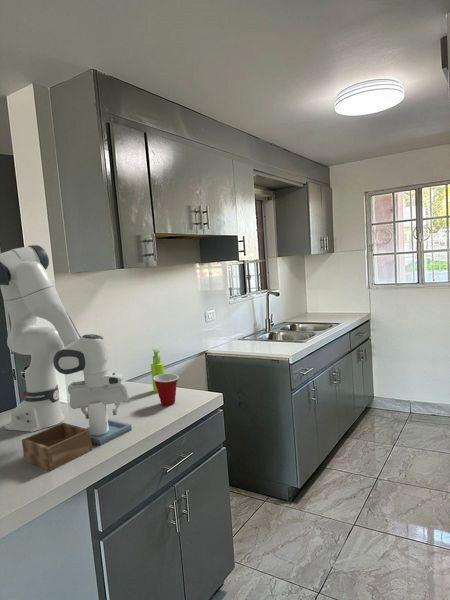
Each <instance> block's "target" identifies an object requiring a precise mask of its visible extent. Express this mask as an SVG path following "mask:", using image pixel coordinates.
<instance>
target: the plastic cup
mask: <svg viewBox="0 0 450 600" xmlns="http://www.w3.org/2000/svg"><path fill="white" fill-rule="evenodd" d="M179 378H180V377H179V375H177V374H175V373H164V374H160V375H157V376H154V378H153V379H154V381H155V384H156V387H157V391H158V392H157V394H158V398H159V400H160V401H159V402H160V404H161V406H164V407H169V406H173V405H175V404H176V403H175V402H176V393H177V384H178V380H179Z"/></svg>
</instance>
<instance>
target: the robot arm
mask: <svg viewBox="0 0 450 600" xmlns="http://www.w3.org/2000/svg"><path fill="white" fill-rule="evenodd" d="M49 265H50V258H49V255H48V254H47V251H46V250H45V248H43V247H42V246H40V245H37V244H34V245H28V246H25V247H24V246H22V247H17V248H13V249H10V250H8V251H4V252H1V253H0V292H1V294H2V295H1V296H2V298H3V301H4V304H5V305H6V306H5V307H6V308H7V311H8V312H7V313H8V314H9V319H10V331H9V334H8V335H7V338H6V339H7V340H6V343H7V347H8V349H9V350H10V351H11V352H14V353H16V354H19V355H25V356H26V355H30V364H29V366H28V367H27V368H26V369H25V371H24V379H25V387H26V390H25V391H23V392H22V393H20V395H21V397H23V400H22V401H21V402H20V403H19V404H18V405H17V406H16V407H15V408H14V409H13V410H12V412H11V416H10V421H9V422H7V424H6V425H5V426H4V427H5V430H9V431H19V432H21V431H22V432H31V433H32V432H36V431H39V430H41V429H42V430H43V429H48V428H51V427H54V426H56V425H59V424H61V423H63V422H64V421H65V420H66V416H65V414H64V412H63V410H62V406H61V402H60V391H59V385H58V384H57V378H56V377H57V375H56V371H57V372H58V373H60V374H63V375H71V374H74V373H78V372H81V371H82V373H83V379H84V380H82V381H72V382H71V383H70V384H69V385H67V392H68V394H69V407H70V408H71V409H73V410H75V409H80V410H81V412H82V414H83V415H84V416H85V420H89V417H88V410H87V407H88V406H89V403H97V402H101V401H102V403H103V404H104V405H106V406H107V405H111V404H114V407H115V408H113V409H112V416H117V415H118V408H119V406H120V403H126V402H127V401H128V400H129V395H130V394H129V390H128V386H127V383H126V381H125V380H123V379H124V377H123V376H124V375H123V373H121V372H115V371H110V367H109V364H108V359H109V358H108V357H109V356H108V349H107V344H106V341H105V338H104V337H103V336H101V335H99V334H92V333H90V334H84V335H82V336H81V335H80V333H79V332H78V330H77V328H76V326H75V324H74V322H73V321H72V318H71V317H70V315H69V313H68V312H67V310H66V308H65V306H64V304H63V302H62V300H61V297H60V296H59V292H58V290H57V289H56V285H55V284H54V282H53V280H52V278H51V277H50V275H49V273H48V271H47V269H48V267H49ZM37 318H40V319H43V320H46V321H47V322H49V323H51V324H52V326H53V327H49V326H38V322H37Z"/></svg>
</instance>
